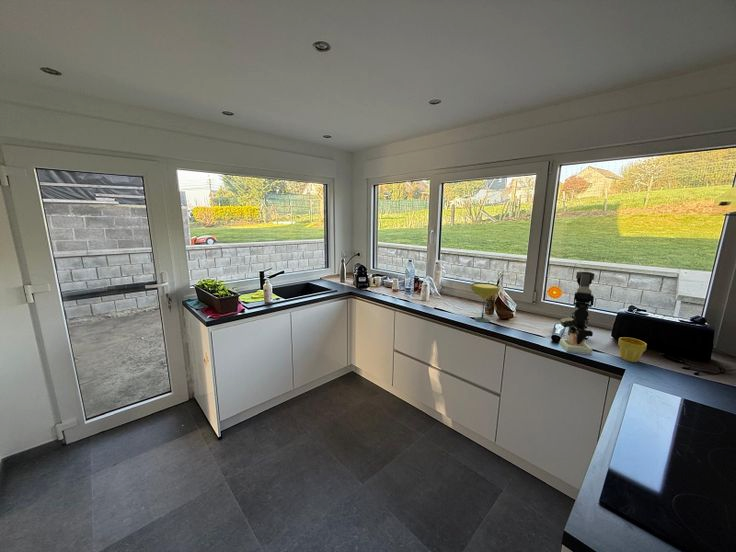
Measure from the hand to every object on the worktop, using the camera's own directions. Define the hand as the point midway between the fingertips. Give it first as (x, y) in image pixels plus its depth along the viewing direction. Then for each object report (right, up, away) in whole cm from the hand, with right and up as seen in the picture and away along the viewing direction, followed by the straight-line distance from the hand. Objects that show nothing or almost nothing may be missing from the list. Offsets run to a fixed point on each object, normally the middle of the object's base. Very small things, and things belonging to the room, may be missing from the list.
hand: (576, 342), depth 155 cm
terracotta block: (0, -1, 0) cm, 1 cm away
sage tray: (0, -4, +1) cm, 4 cm away
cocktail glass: (-33, +5, +46) cm, 56 cm away
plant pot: (+20, -6, -10) cm, 23 cm away
